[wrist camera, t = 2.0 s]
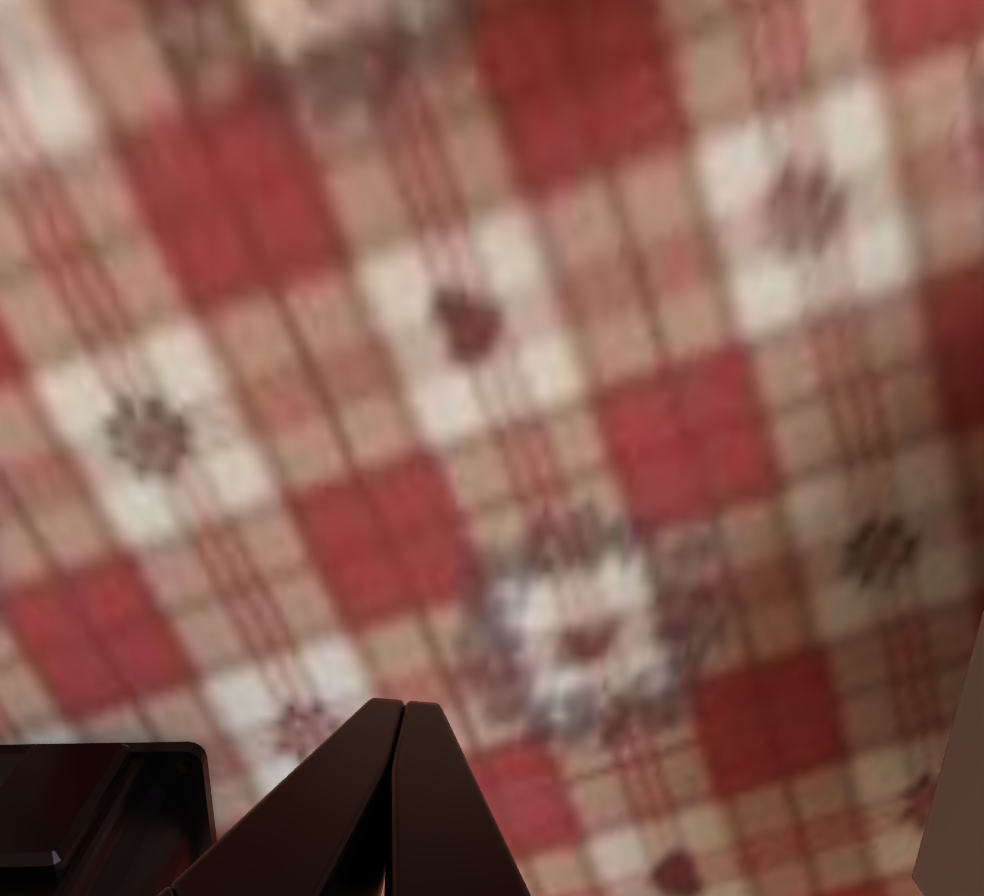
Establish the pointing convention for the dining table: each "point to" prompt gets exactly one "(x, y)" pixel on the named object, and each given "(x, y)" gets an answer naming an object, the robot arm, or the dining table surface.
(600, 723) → the dining table surface
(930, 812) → the cabinet door
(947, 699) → the dining table surface
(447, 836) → the robot arm
